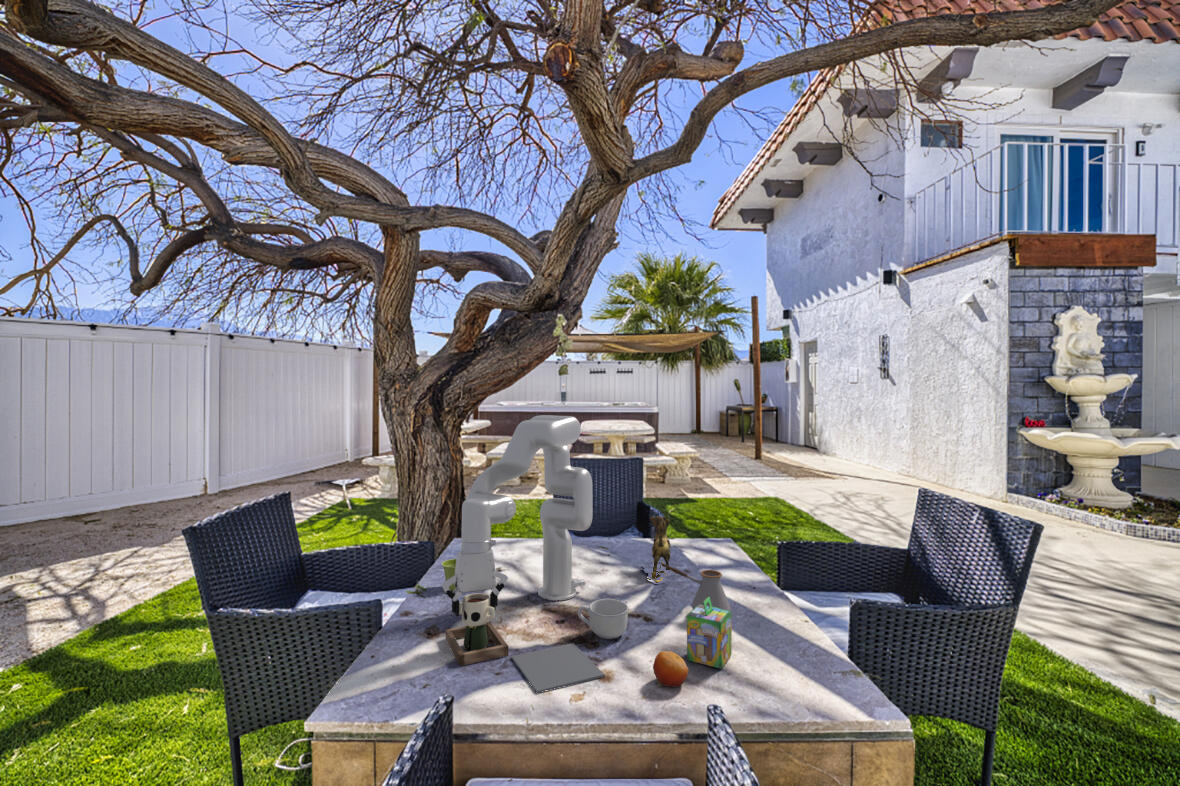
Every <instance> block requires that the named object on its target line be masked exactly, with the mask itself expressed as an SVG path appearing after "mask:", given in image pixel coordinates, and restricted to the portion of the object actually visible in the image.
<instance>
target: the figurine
mask: <svg viewBox="0 0 1180 786" xmlns="http://www.w3.org/2000/svg"><path fill="white" fill-rule="evenodd" d="M649 521H651V526H652V527H654V528H655V530H656V532H655V535H654V539H653V544H652V546H651V553H652V554H651V557H652V558H653V561H652V562H654V567H653V573H651V574H652V579H656V578H658V577H660V576H661V575H659V574H658V573H664V574H665V572H664V571H659V572H658V571H656V570H657V564H658V561H660V559H661V558H662V559H663V560H664V563H665V565H669V566H670V562H669V561H670V559H671V547H672V545H671V542H670V541H671V540H669V538H668V536H667V530H668V528H669V527H670V523H671V522H670V521H671V520H670V519H669V518H667V516H659V515H657V516H650V519H649ZM652 562H651V563H652ZM666 570H670V569H667V568H666ZM656 572H658V573H657V574H658V575H657V576H656ZM665 575H666V574H665ZM666 576H667V575H666ZM655 577H656V578H655ZM647 579H649V578H646V580H647ZM662 579H663V578H662V577H661V579H660V580H654V581H655V582H656V583H658V582H660V581H662ZM649 580H651V579H649Z"/></svg>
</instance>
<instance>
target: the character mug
mask: <svg viewBox="0 0 1180 786" xmlns="http://www.w3.org/2000/svg"><path fill="white" fill-rule="evenodd" d="M495 612H496V611H495V609H494V607H490V594H489V595H488V594H486V593H483V592H482V593H481V592H480V593H479V592H477V593H476V592H473V593H470V594H467V595H465V596H463V597H462V601H459V616H460V615H461V619H462V623H463V624H464V626H466V630H465V637H464V638H463V639H464V640H463V647H464V648H463V649H465V650H469V647H470V651H475V650H480V649H485V648H487V646H488V644H489V639H488V638H489V637H488V633H487V629H486V625H485V624H486V623H487V622H490V620H491V621H493V620H495Z"/></svg>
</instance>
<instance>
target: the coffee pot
mask: <svg viewBox="0 0 1180 786" xmlns="http://www.w3.org/2000/svg"><path fill="white" fill-rule="evenodd" d="M661 565H662V566H663V567H666V568H667V569H670V570H671V571H673V572H674V573H675V574H677V575H679V576H682V577H684V578H687V579H688V580H691V581H693V582H695V583H697V584H699V587H698V589H697V591H696V594H694V595H695V596H694V598H693V600H692V602H691V609H692V610H693V609H694V608H695V607H697V606H698V605H703V601H704V600H705V599H706V598H707V597H708V596H709V597H710V601H711V605H712V607H716V608H720V609H723V610H727V611H731V605H730V602H729V600H728V599H727V595H726V592H725V590H724V588H723V585H722V582H721V581H720V580H721V578H722V576H723V574H722V573H721V572H720V571H718V570H714V569H706V570H705V569H704V570H701V571H700V572H699V573H700V576H701V578H702V580H700V579H697V578H695V577H693V576H691V575H689V574H686V573H685V572H683V571H681V570H679V569H677V568H676V567H672V566H670V564H669V565H666V563H665V562H663V563H661ZM661 565H660V568H661ZM660 568H659V569H660ZM706 606H709V603H707V604H706Z"/></svg>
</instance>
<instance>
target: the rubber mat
mask: <svg viewBox="0 0 1180 786" xmlns="http://www.w3.org/2000/svg"><path fill="white" fill-rule="evenodd" d="M511 660H512V661H513V663H514V662H515V663H514V664H515V665H516V667H517V666H518V667H517V668H518V670H519V669H520V670H521V671H520V670H519V671H520V672H521V674H522V673H523V674H522V676H523V677H524V676H525V677H526V678H525V677H524V678H525V680H526V681H527V680H528V681H529V682H530V683H529V682H528V681H527V682H528V683H529V684H531V685H532V686H531V685H530V686H531V687H533V688H534V689H533V688H532V689H533V690H534V692H535V691H536V692H537V693H538V694H540V693H539V692H542V691H545V690H550V689H554V688H558V687H562V688H564V687H563V686H566V687H569V686H568V685H570V686H573V685H572V684H574V685H577V684H576V683H578V684H581V682H582V683H586V682H590V681H594V680H598V679H601V678H605V673H604V672H603V671H602V670H601V669H600V668H599V667H598V666H596V664H595V663H594V662H592V660H591V659H590V658H589V657H588V656H587V655H585V653H584V652H582V650H580V648H579V647H578V646H577V645H575V644H574V642H573V643H567V644H563V645H558V646H553V647H548V648H545V649H539V650H535V651H530V652H525V653H521V654H516V655H511ZM597 678H598V679H597ZM589 680H590V681H589ZM585 681H586V682H585ZM558 689H559V688H558ZM554 690H555V689H554ZM550 691H551V690H550ZM536 692H535V693H536ZM537 693H536V694H537ZM542 693H543V692H542Z"/></svg>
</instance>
